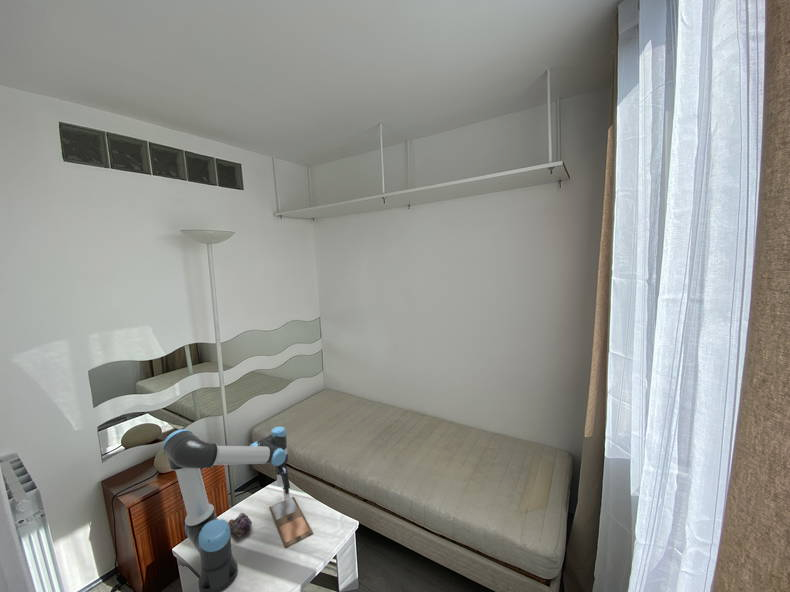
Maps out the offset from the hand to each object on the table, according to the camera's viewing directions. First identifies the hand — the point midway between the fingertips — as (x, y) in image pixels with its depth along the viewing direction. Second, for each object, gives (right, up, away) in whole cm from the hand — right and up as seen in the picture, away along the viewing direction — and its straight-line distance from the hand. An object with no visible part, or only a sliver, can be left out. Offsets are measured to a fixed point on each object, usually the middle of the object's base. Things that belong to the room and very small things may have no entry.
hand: (283, 491), depth 179 cm
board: (+6, -11, -8) cm, 14 cm away
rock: (-20, -5, -17) cm, 27 cm away
